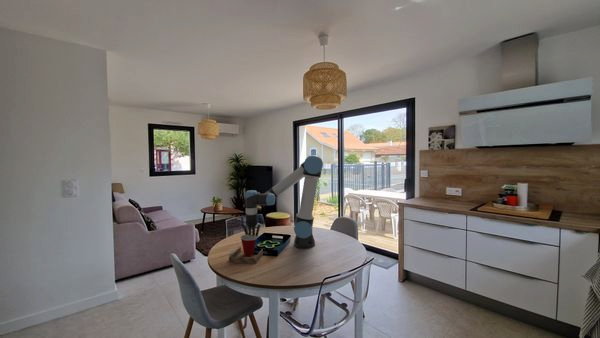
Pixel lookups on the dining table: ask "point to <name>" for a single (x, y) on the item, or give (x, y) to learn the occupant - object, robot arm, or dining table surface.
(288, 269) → the dining table surface
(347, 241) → the dining table surface
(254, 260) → the frame
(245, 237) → the plastic cup
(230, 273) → the dining table surface
